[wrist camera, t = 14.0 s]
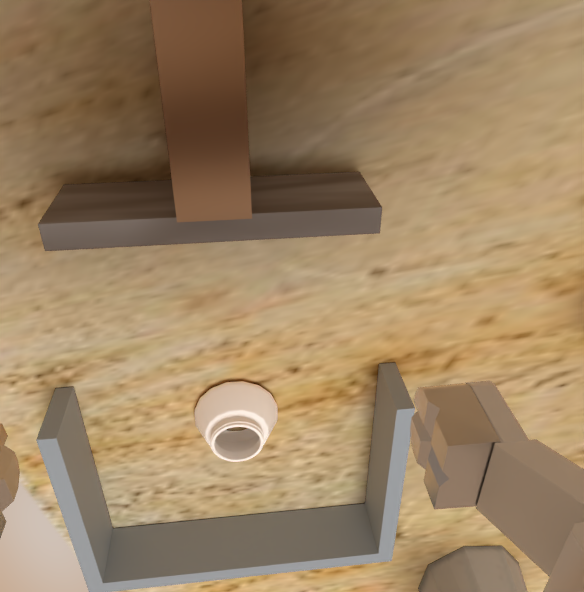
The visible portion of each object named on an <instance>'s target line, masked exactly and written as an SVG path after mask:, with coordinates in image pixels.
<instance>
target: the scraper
mask: <svg viewBox="0 0 584 592" xmlns="http://www.w3.org/2000/svg"><path fill="white" fill-rule="evenodd" d="M150 8H151V17H152V25H153V33H154V41H155V49H156V57H157V65H158V73H159V81H160V89H161V97H162V105H163V113H164V121H165V130H166V138H167V146H168V154H169V162H170V170H171V178H172V180H157V181H134V182H111V183H88V184H65V185H63V187H62V188H61V190H60V192H59V193H58V195H57V196H56V198H55V199H54V201H53V202H52V204H51V205H50V207H49V208H48V210H47V211H46V213H45V214H44V216H43V217H42V219H41V220H40V222H39V223H38V227H39V230H40V234H41V238H42V241H43V245H44V249H45V251H57V250H76V249H94V248H113V247H132V246H150V245H169V244H188V243H206V242H225V241H244V240H262V239H281V238H300V237H318V236H337V235H356V234H374V233H380V226H381V214H382V206H381V205H380V203H379V202H378V200H377V199H376V197H375V195H374V194H373V192H372V191H371V189H370V188H369V186H368V184H367V183H366V181H365V180H364V178H363V177H362V175H361V173H360V172H342V173H319V174H296V175H273V176H250V162H249V141H248V119H247V97H246V76H245V54H244V32H243V11H242V0H150Z"/></svg>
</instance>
